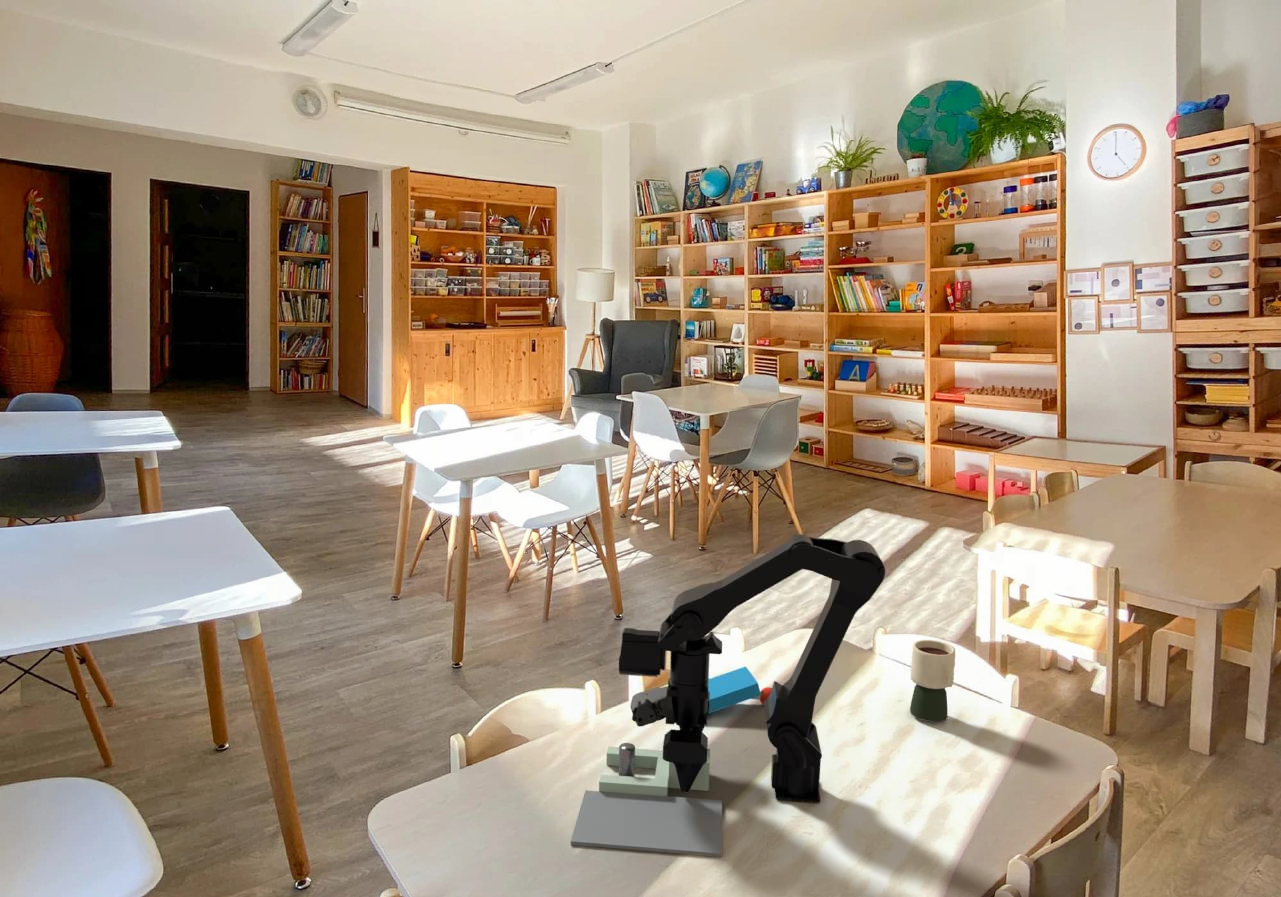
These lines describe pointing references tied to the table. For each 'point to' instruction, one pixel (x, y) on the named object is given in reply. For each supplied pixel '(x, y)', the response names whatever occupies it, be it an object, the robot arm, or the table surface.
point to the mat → (649, 823)
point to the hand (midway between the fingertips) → (686, 774)
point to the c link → (650, 786)
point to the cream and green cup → (931, 678)
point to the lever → (734, 689)
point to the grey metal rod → (627, 760)
